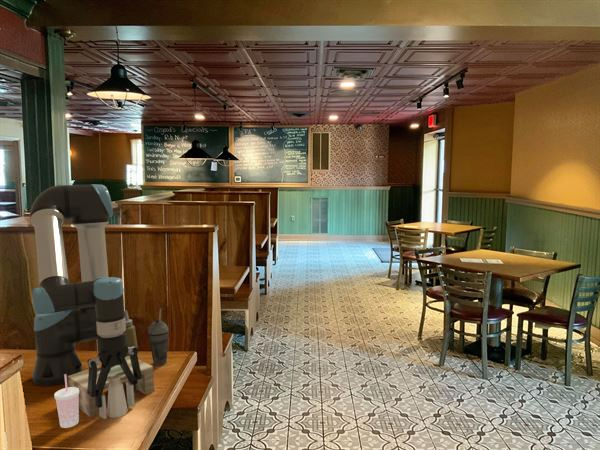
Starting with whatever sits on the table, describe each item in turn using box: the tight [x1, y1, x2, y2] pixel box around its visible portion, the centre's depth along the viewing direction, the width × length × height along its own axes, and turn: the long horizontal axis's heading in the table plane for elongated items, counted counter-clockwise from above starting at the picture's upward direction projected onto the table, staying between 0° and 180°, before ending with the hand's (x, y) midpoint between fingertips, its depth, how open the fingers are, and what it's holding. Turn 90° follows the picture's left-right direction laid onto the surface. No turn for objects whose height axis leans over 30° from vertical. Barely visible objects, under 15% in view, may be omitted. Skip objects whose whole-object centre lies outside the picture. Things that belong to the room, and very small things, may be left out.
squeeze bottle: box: [124, 310, 138, 357], centre depth 168 cm, size 8×8×18 cm
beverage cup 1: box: [53, 374, 80, 429], centre depth 125 cm, size 6×6×14 cm
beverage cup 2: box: [147, 308, 170, 367], centre depth 164 cm, size 7×7×20 cm
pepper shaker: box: [106, 375, 128, 419], centre depth 130 cm, size 5×5×11 cm
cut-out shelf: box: [67, 356, 155, 418], centre depth 140 cm, size 14×20×8 cm
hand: (117, 410), depth 130 cm, fingers open, 8 cm apart
